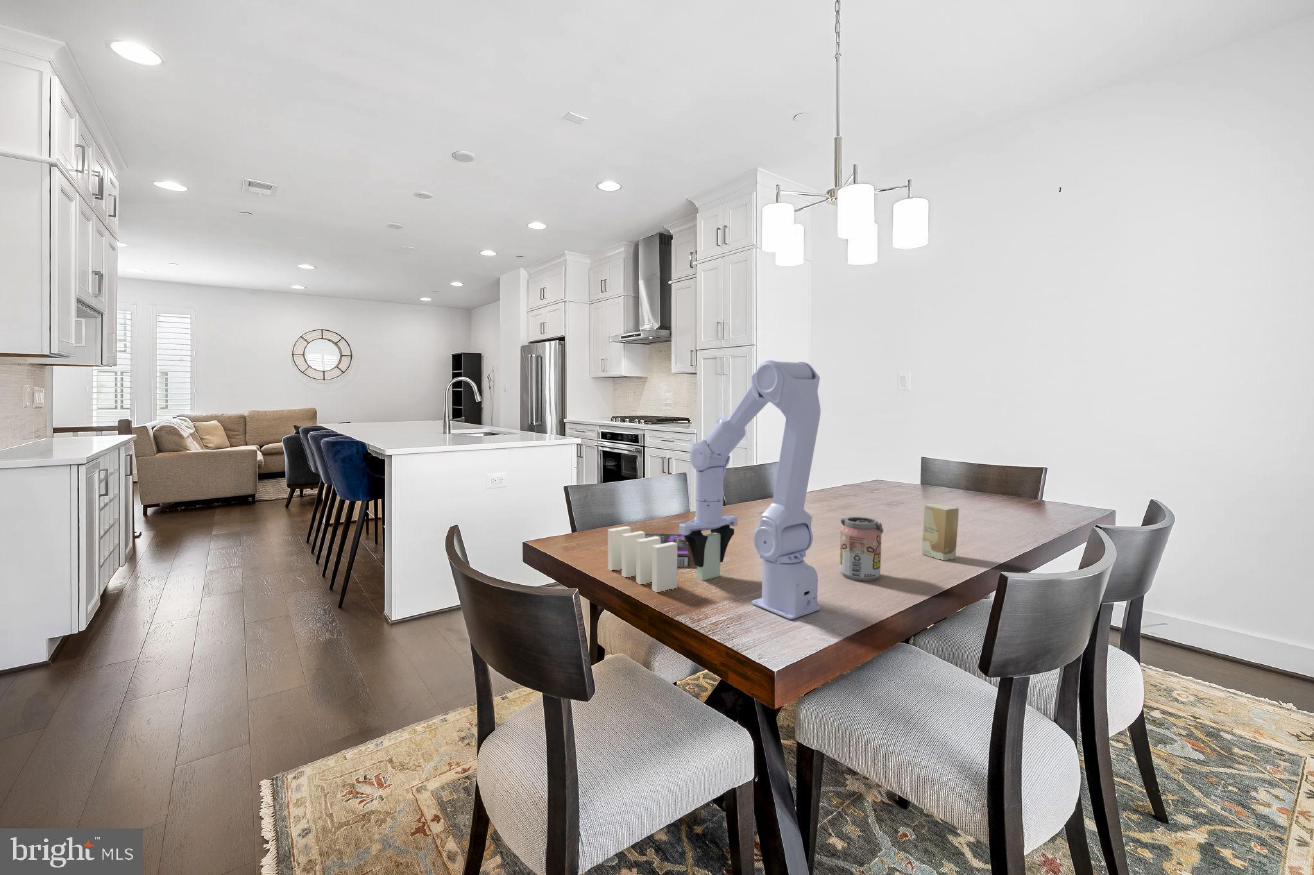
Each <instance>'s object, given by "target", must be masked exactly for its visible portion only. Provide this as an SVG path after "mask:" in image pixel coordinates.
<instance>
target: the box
mask: <svg viewBox="0 0 1314 875" xmlns="http://www.w3.org/2000/svg"><path fill="white" fill-rule="evenodd" d="M655 536H657V537H659V538H661V544H664V543H669V542H674V543H677V567H689V566H690V552H689V545H688V542H687V541H686V539H685V537H684V535H682V534H679V533H678V534H676V533H645V538H650V537H655Z"/></svg>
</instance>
